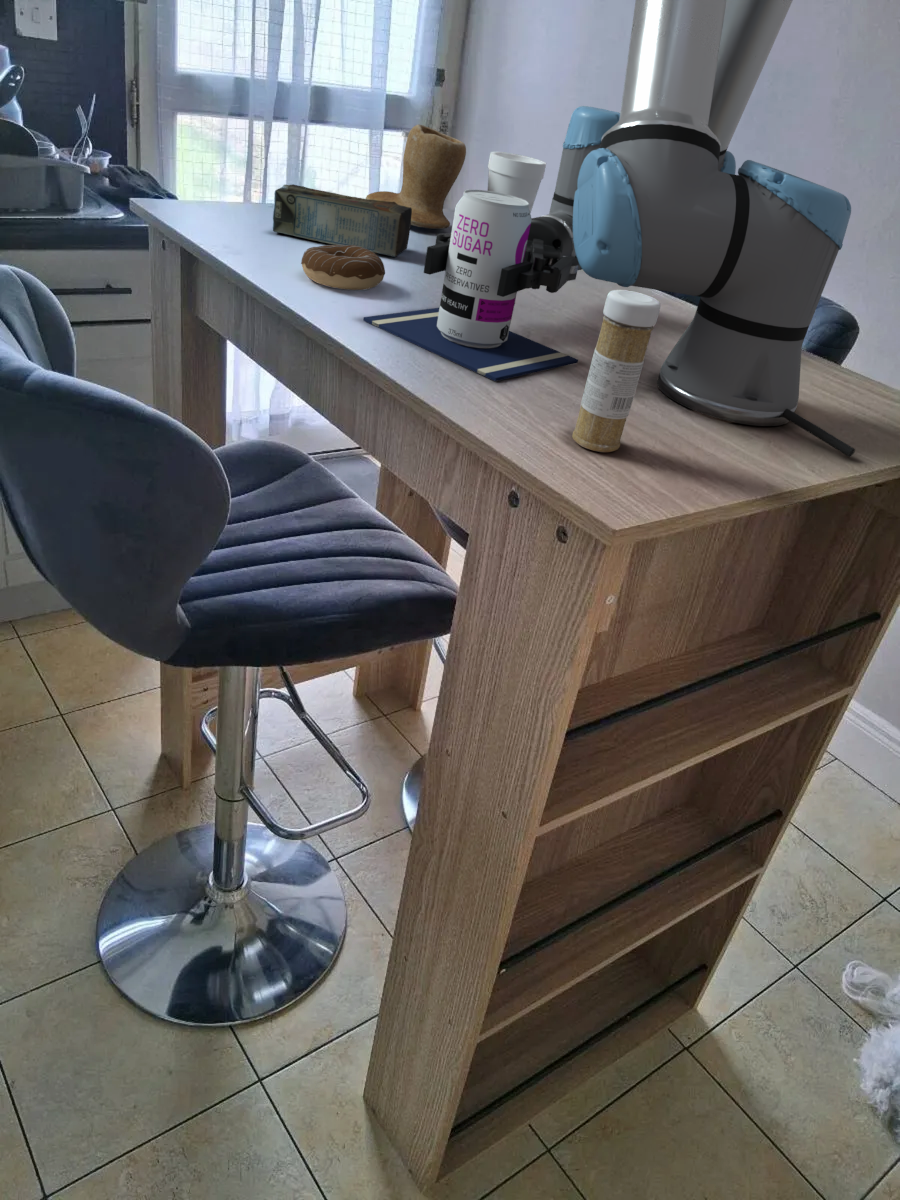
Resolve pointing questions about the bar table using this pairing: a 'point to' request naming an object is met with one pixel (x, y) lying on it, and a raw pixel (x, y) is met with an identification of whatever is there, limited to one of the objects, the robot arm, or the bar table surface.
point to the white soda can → (482, 267)
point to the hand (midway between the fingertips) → (465, 271)
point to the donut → (343, 267)
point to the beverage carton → (342, 219)
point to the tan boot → (427, 176)
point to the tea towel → (489, 362)
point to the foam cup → (515, 175)
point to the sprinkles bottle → (615, 369)
